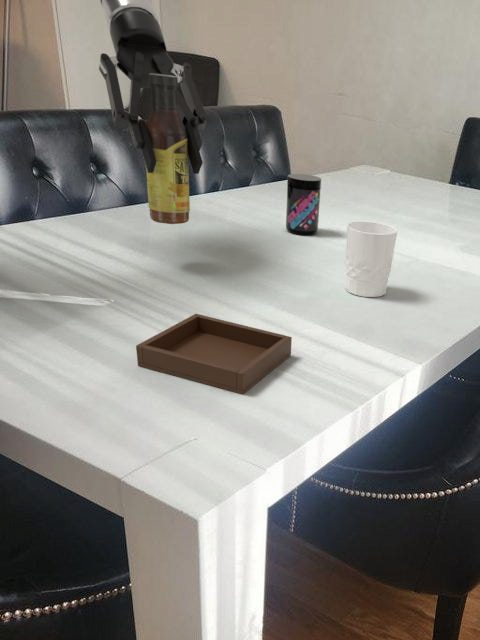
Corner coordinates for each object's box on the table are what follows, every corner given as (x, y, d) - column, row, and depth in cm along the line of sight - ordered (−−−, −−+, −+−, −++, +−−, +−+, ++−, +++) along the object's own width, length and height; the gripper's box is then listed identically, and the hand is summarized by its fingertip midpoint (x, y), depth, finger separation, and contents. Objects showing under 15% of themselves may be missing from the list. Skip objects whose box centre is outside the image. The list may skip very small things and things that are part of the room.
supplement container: (279, 231, 133) (281, 175, 127) (295, 225, 138) (298, 172, 132) (307, 237, 131) (311, 182, 125) (323, 232, 136) (327, 178, 130)
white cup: (360, 301, 102) (367, 235, 96) (332, 285, 107) (337, 222, 101) (398, 295, 106) (407, 232, 100) (370, 281, 111) (377, 220, 105)
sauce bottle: (185, 227, 100) (179, 78, 89) (144, 223, 100) (133, 72, 89) (194, 218, 106) (189, 76, 95) (155, 214, 105) (146, 70, 94)
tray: (137, 365, 75) (135, 345, 73) (196, 331, 85) (195, 313, 83) (242, 394, 72) (243, 373, 70) (291, 355, 82) (292, 336, 80)
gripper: (68, -3, 90) (112, 148, 88) (201, 16, 99) (243, 153, 97) (65, 40, 96) (105, 182, 94) (190, 55, 106) (229, 183, 104)
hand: (175, 167), depth 96 cm, fingers closed on sauce bottle, 6 cm apart
